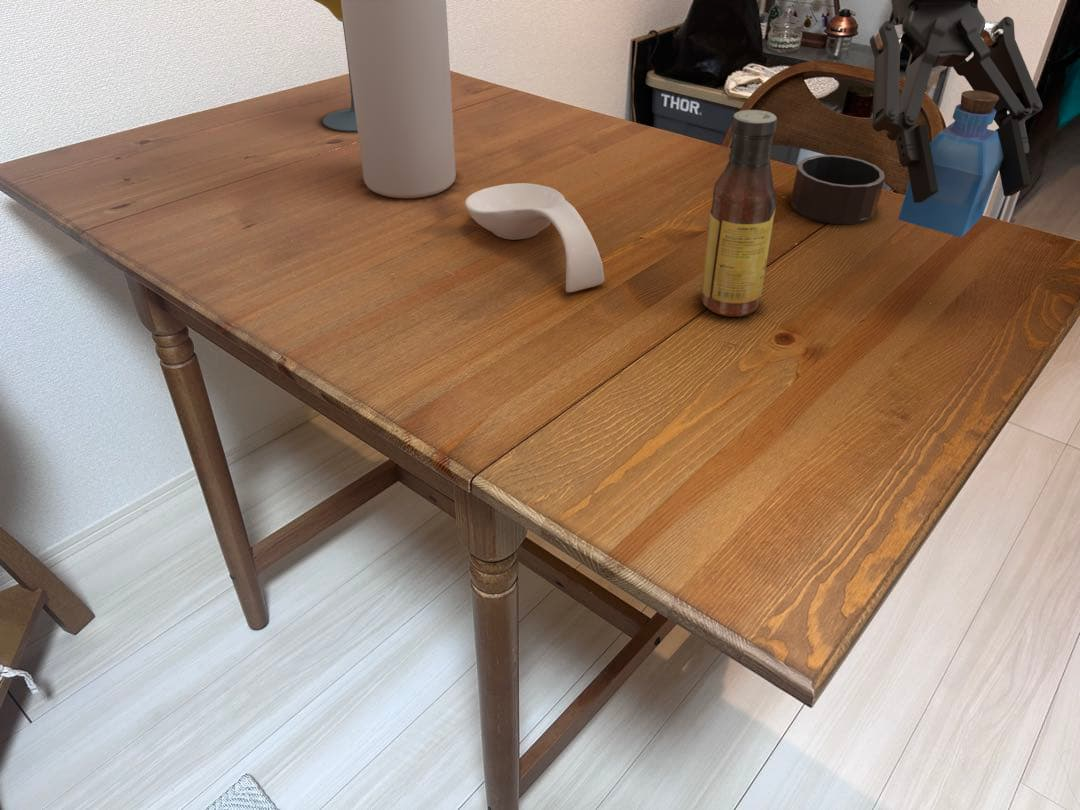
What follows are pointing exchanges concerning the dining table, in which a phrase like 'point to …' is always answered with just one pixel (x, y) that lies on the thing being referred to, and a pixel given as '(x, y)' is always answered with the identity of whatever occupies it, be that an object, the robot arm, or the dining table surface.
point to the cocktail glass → (347, 117)
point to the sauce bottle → (741, 219)
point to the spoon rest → (540, 225)
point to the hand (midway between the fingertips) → (972, 193)
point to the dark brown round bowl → (836, 189)
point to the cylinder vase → (401, 94)
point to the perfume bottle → (960, 169)
